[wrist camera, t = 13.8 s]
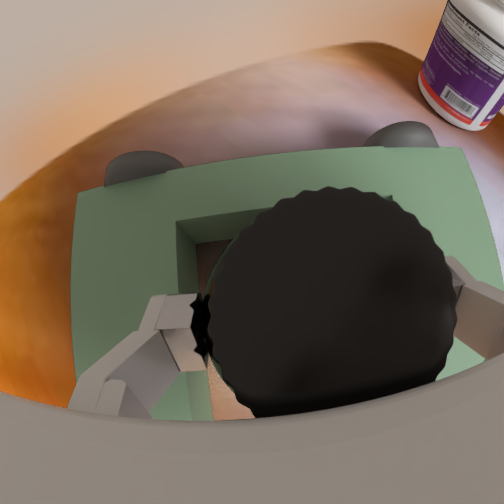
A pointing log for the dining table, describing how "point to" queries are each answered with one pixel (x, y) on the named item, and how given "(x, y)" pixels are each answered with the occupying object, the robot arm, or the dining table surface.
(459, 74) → the pill bottle
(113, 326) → the green u-shaped block
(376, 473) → the robot arm
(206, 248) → the dining table surface
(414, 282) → the supplement bottle
